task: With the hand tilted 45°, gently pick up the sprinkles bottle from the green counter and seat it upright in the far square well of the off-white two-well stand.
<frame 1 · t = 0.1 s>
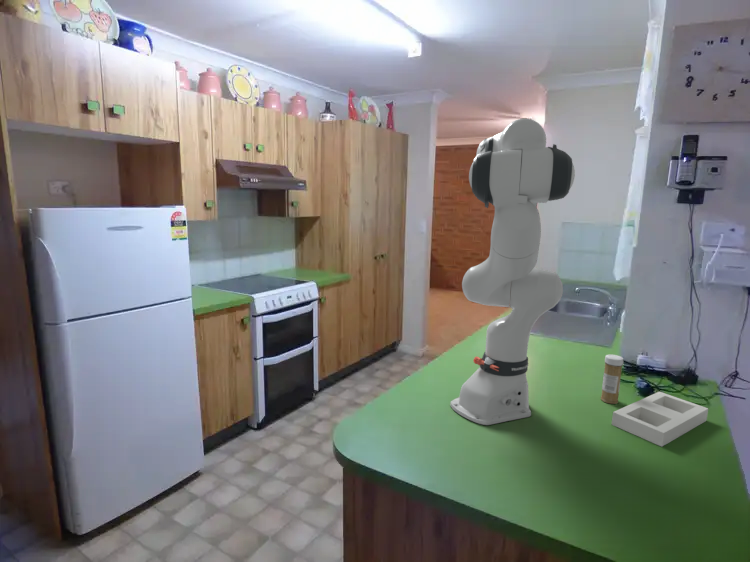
hand: (515, 214, 149), 52 cm above the counter, tool tilted 20°, fingers open, 8 cm apart
bottle stand: (659, 422, 114), on the counter
sprinkles bottle: (608, 401, 126), on the counter
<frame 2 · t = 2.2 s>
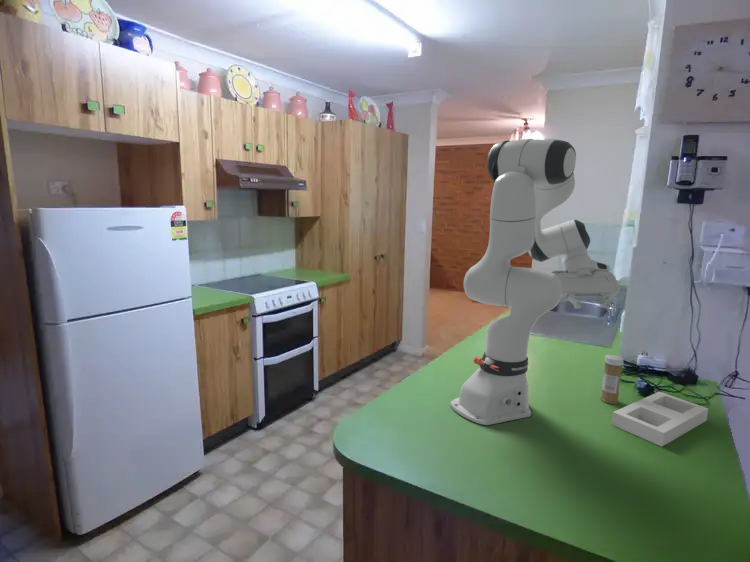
hand: (593, 307, 134), 25 cm above the counter, tool tilted 45°, fingers open, 8 cm apart
nothing on the counter moved.
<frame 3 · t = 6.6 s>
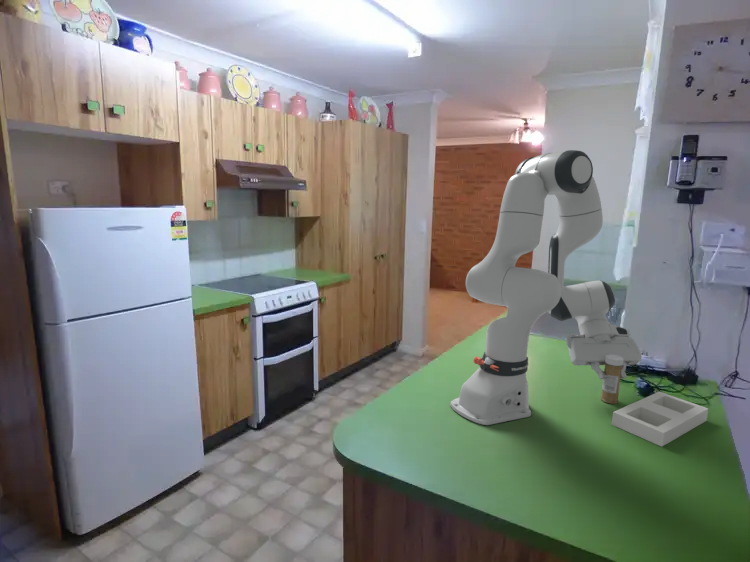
hand: (613, 378, 124), 7 cm above the counter, tool tilted 45°, fingers closed on sprinkles bottle, 4 cm apart
sprinkles bottle: (608, 401, 126), on the counter, touching gripper
when the fingers open (9 cm above the counter, at t = 11.5 s): sprinkles bottle stays where it is, resting in bottle stand.
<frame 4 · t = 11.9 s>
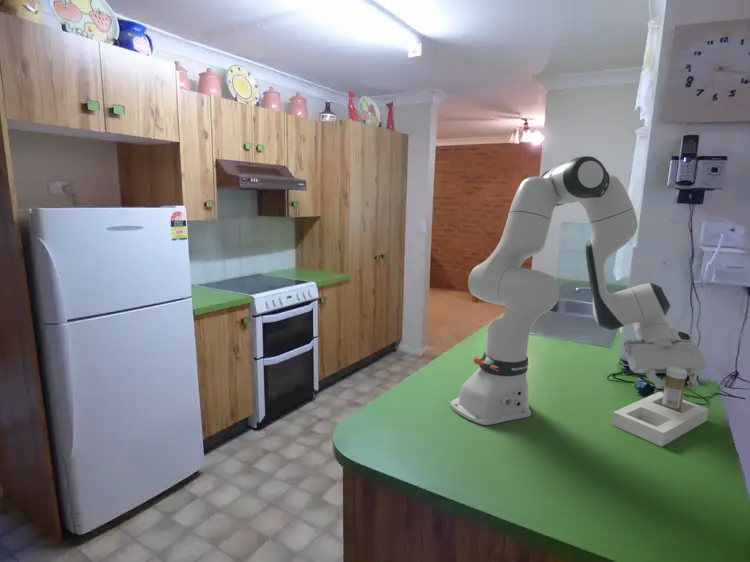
hand: (677, 387, 115), 9 cm above the counter, tool tilted 45°, fingers open, 8 cm apart
sprinkles bottle: (669, 416, 118), resting in bottle stand
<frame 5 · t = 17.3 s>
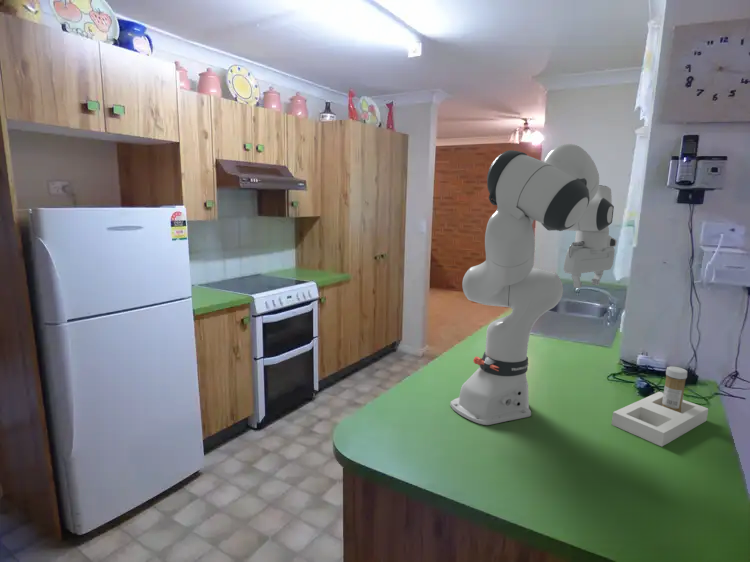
hand: (586, 286, 133), 31 cm above the counter, tool pointing down, fingers open, 8 cm apart
nothing on the counter moved.
at the end: sprinkles bottle 0.4 cm from the target spot on the bottle stand, point 0.0 cm above the bottle stand's base; sprinkles bottle tilted 0°; the gripper is holding nothing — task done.
